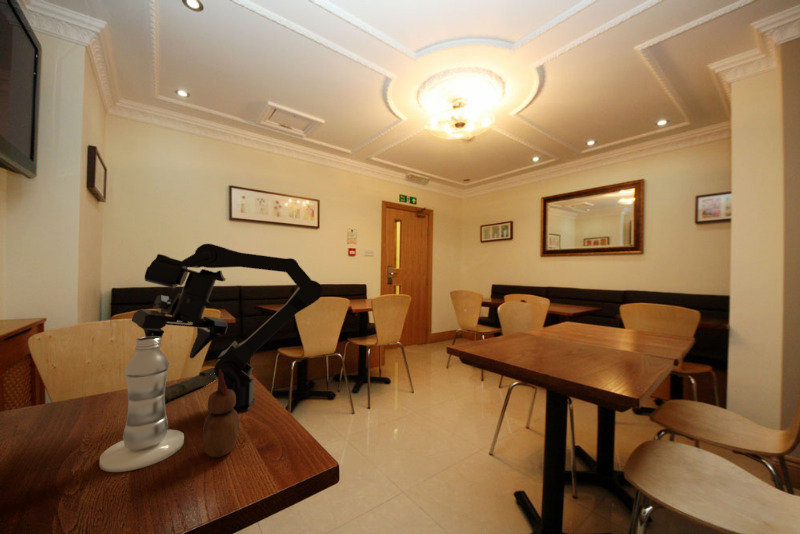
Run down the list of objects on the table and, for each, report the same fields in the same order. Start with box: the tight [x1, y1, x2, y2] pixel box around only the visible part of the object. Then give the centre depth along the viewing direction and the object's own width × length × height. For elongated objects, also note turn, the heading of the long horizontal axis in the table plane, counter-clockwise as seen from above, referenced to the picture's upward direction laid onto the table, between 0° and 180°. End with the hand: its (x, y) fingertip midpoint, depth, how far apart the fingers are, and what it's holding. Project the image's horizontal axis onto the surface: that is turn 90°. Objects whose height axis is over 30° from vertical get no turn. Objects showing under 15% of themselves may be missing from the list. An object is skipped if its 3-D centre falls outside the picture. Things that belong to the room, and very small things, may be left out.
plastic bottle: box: [122, 336, 170, 450], centre depth 57 cm, size 6×7×20 cm
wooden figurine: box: [202, 369, 240, 458], centre depth 57 cm, size 7×6×15 cm
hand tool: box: [165, 367, 218, 403], centre depth 86 cm, size 19×4×5 cm, turn 164°
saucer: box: [99, 428, 185, 473], centre depth 57 cm, size 12×12×1 cm
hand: (170, 358), depth 71 cm, fingers open, 9 cm apart
